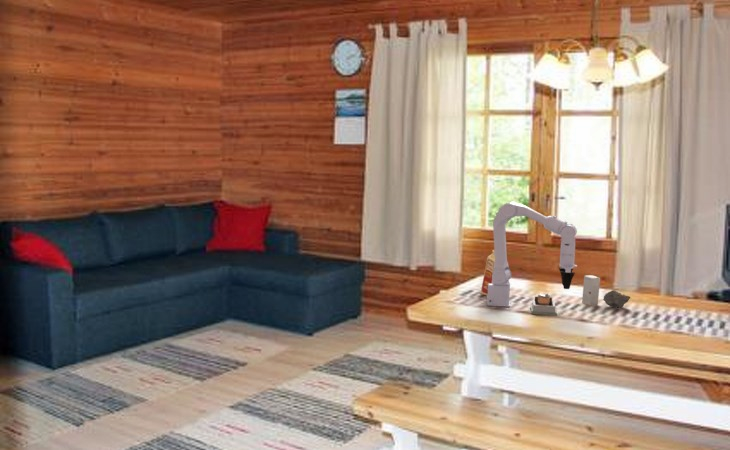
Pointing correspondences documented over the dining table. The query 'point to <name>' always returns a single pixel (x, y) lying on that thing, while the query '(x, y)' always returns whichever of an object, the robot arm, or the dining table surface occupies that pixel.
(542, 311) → the grey green open box
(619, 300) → the fossil
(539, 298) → the spout can
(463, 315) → the dining table surface
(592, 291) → the skincare box
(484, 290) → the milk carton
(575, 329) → the dining table surface
